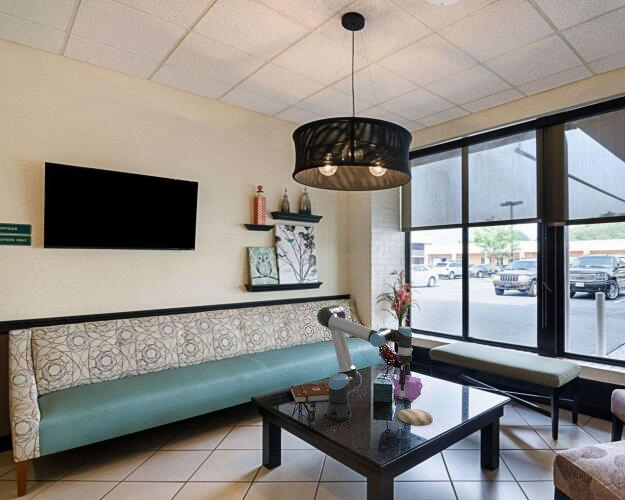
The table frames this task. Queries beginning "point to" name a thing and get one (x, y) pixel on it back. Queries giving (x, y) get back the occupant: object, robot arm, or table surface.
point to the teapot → (408, 387)
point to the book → (310, 392)
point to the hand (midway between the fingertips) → (405, 392)
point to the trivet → (415, 417)
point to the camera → (398, 396)
